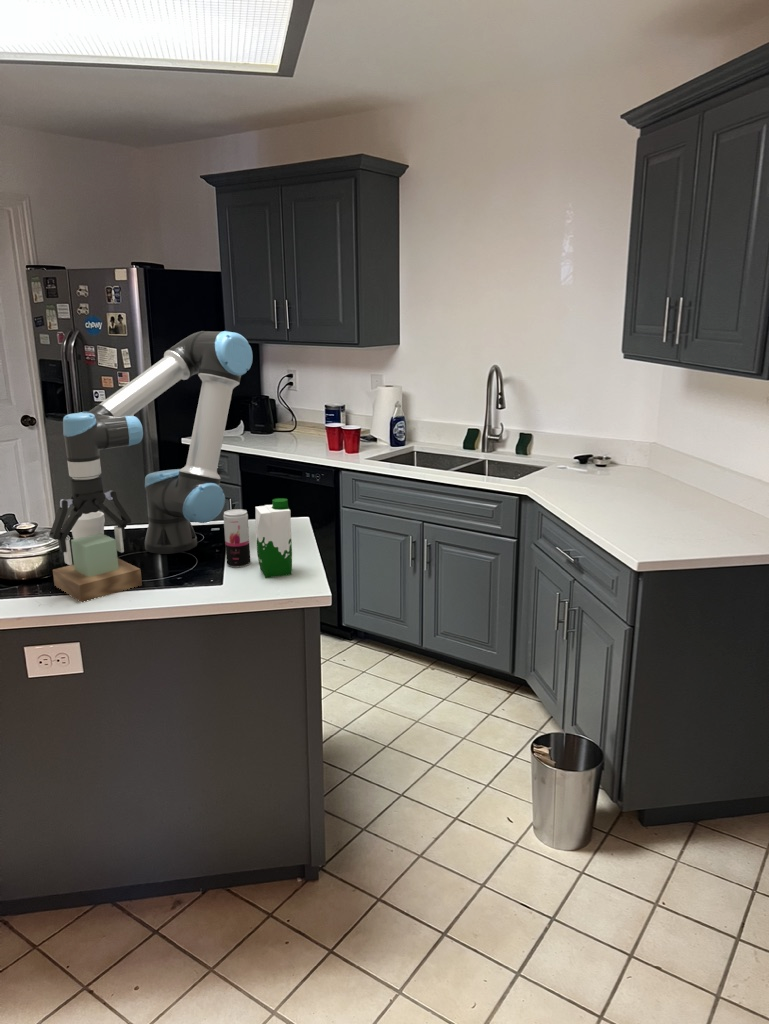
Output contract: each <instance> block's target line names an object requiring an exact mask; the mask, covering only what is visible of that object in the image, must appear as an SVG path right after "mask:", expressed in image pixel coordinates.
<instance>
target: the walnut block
mask: <svg viewBox="0 0 769 1024" xmlns="http://www.w3.org/2000/svg"><path fill="white" fill-rule="evenodd" d="M117 558H118V567H119V569H118V570H114V571H110V572H107V573H103V574H99V575H95V576H91V577H87V576H85V575H83V574H82V573H80V572H78V571H76V570H75V569H74V564H72V565H66V566H61V567H57V568H53V569H52V575H53V583H54V587H55V586H56V587H55V588H57V589H58V588H59V589H58V590H60V589H61V590H60V591H62V592H63V591H64V593H65V592H66V593H65V594H66V595H68V594H69V595H68V596H70V595H71V596H72V598H73V597H74V599H75V598H76V599H77V600H76V599H75V600H76V601H78V600H79V601H78V602H80V603H81V602H82V603H85V602H88V601H87V600H89V601H91V599H93V600H95V599H94V598H96V599H99V598H98V597H100V598H102V596H103V597H107V596H109V595H113V594H117V593H121V592H123V590H124V591H127V589H128V590H131V589H130V588H132V589H135V588H138V586H139V587H142V586H143V584H142V583H143V582H142V581H143V580H142V572H141V571H142V570H141V568H139V567H137V566H135V565H132V564H131V563H128V562H127V561H125V560H123V559H121V558H119V557H117ZM134 587H135V588H134ZM120 591H121V592H120ZM106 595H107V596H106ZM71 596H70V597H71ZM84 601H85V602H84Z"/></svg>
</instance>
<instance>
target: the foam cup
mask: <svg viewBox="0 0 769 1024" xmlns="http://www.w3.org/2000/svg"><path fill="white" fill-rule="evenodd" d="M105 522H106V520H105V514H104V513H103V512H101V511H100V510H98V511H97V512H91V513H89V514H82V516H81V517H79V519H78V520H77V522H76V523H75V525H74V526H73V528H72V530H71V531H70V532H71V535H72V538H73V539H78V538H82V537H86V536H91V535H95V534H100V533H102V534H104V535H105ZM73 539H72V540H73Z"/></svg>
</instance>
